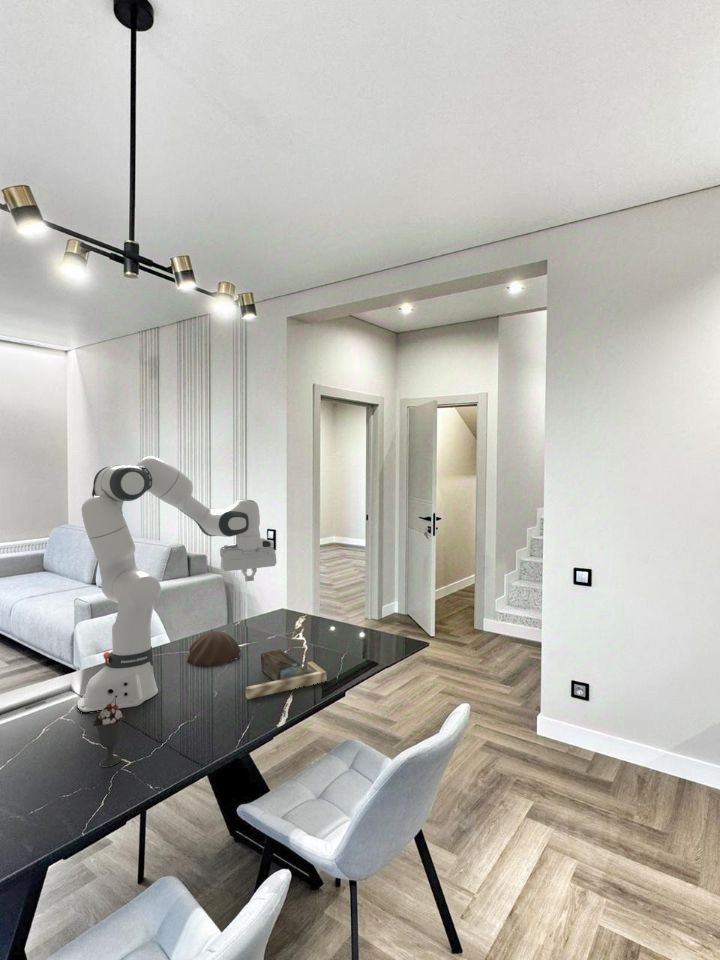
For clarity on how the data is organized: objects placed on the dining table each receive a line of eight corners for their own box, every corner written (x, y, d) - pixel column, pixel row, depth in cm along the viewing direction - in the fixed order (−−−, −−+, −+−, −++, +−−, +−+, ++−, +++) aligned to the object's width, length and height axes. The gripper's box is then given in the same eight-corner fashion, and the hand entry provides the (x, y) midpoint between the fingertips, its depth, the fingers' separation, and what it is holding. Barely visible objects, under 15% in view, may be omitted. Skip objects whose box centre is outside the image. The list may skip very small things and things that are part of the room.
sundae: (130, 753, 127) (128, 692, 127) (118, 768, 120) (116, 703, 120) (102, 755, 127) (101, 693, 127) (89, 770, 120) (87, 705, 120)
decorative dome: (224, 668, 185) (223, 640, 185) (176, 664, 190) (175, 637, 190) (250, 651, 203) (249, 625, 203) (205, 648, 209) (205, 623, 209)
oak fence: (247, 699, 157) (247, 689, 157) (237, 685, 168) (237, 676, 168) (326, 681, 169) (326, 672, 169) (312, 670, 180) (312, 661, 180)
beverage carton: (280, 689, 165) (279, 668, 165) (260, 670, 181) (259, 651, 181) (303, 683, 169) (302, 663, 169) (281, 666, 185) (281, 647, 185)
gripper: (221, 546, 185) (223, 585, 185) (277, 541, 194) (278, 579, 194) (217, 544, 190) (218, 582, 190) (271, 540, 200) (272, 576, 200)
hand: (249, 580), depth 192 cm, fingers closed
